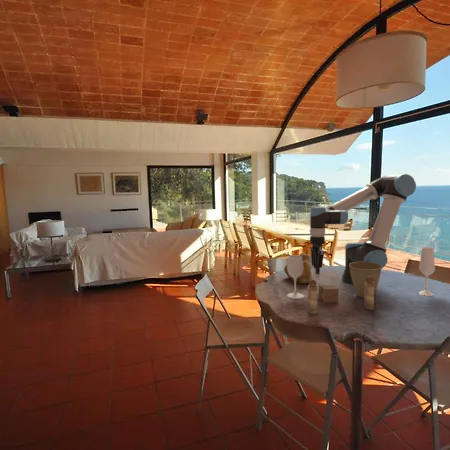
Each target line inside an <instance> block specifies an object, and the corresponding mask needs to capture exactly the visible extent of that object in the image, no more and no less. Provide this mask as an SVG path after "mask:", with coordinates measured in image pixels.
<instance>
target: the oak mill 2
mask: <svg viewBox="0 0 450 450" xmlns="http://www.w3.org/2000/svg"><path fill="white" fill-rule="evenodd" d="M374 285H375V283H374V279H373V277H371V276H368V277H366V281H365V295H364V298H363V299H364V300H363V301H364V303H363V305H364V307H363V308H364V310H365V309H366V310H369V311H370V310H374V309H375V293H374Z"/></svg>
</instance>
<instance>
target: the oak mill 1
mask: <svg viewBox="0 0 450 450" xmlns="http://www.w3.org/2000/svg"><path fill="white" fill-rule="evenodd" d="M317 284H318V283H317V280H314V279H312V280H310V281H309V283H308V285H307V313H308V314H310V315H311V314H312V315H315V314H317V313H318V285H317Z"/></svg>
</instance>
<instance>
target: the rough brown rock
mask: <svg viewBox="0 0 450 450" xmlns="http://www.w3.org/2000/svg"><path fill="white" fill-rule="evenodd" d="M298 256H301V257H302V260H303V273H302V275H301V276H299V277H298V278H297V280H296V284H309V281H310V280H313V277H312V269H311V267H312V266H311V265H312V264H311V257H310V256H309V253H300V254H299V255H298ZM283 271H284V273H285V274H286V275H287V277H288V279H291V280H292V281H293V282H294V278H293V277H292V276H290V275H289V273H288V271H287V264H286V265H285V267H284V268H283Z"/></svg>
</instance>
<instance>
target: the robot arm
mask: <svg viewBox="0 0 450 450" xmlns="http://www.w3.org/2000/svg"><path fill="white" fill-rule="evenodd" d="M416 188H417V184H416V181H415V178H414V177H413V176H412V175H410V174H407V173H398V174H390V175H389V174H388V175H383V176H380V177H379V178H376V179H375V180H373V181H372V182H371V181H370V182H369V183H367V184H366V185H365V187H363V188H361V189H359V190H358V191H356V192H354V193H352V194H350V195H347V196H345V197H344V198H342V199H340V200H337V201H336V202H334V203H333V204H330V205H329V206H327V207H325V206H311V208H310V213H309V214H310V218H309V220H310V221H309V223H310V225H309V226H310V227H309V229H310V230H309V235H310V236H309V243H310V244H312V245H311V246H310V249H309V250H310V256H311V257H310V260H311V265H312V267H313V280H315V281H317V280H319V281H320V278H321V277H320V276H321V275H320V274H321V268H323V262H324V255H325V250H323V245H324V244H325V243H326V242H325V240H326V226H327V225H346V224H347V223H348V219H349V215H348V212H349V211H351V210H353V209H355V208H357V207H358V206H360V205H363V204H365V203H367V202H369V201H370V200H377V199H378V198H381V197H382V198H383V201H382V202H381V203H382V204H381V206H380V209H379V211H378V213H377V214H378V215H377V217H376V218H375V220H374V224H373V227H372V229H371V232H370V235H369V237H368V240H365V241H364V242H347V243H346V244H345V248H344V250H345V253H344V254H345V257H344V259H345V264H344V265H345V266H344V270H343V272H342V275H341V280H342V282H344V283H346V284H347V283H348V284H351V285H353V282H352V278H351V274H350V268H349V264H350V263H353V262H373V263H377V264H380V265H381V266H382V268H381V270H382V269H384V268H385V267H386V265H387V263H388V259H389V258H388V254H386V253H387V250H388V249H387V247H386V244H387V242H388V239H389V236H390V233H391V231H392V228H393V226H394V223H395V220H396V219H397V215H398V213H399V210H400V207H401V205H402V204H404V203H406V202H407V198H408V197H410V196H411V195H413V194H414V193H415V191H416Z"/></svg>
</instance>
